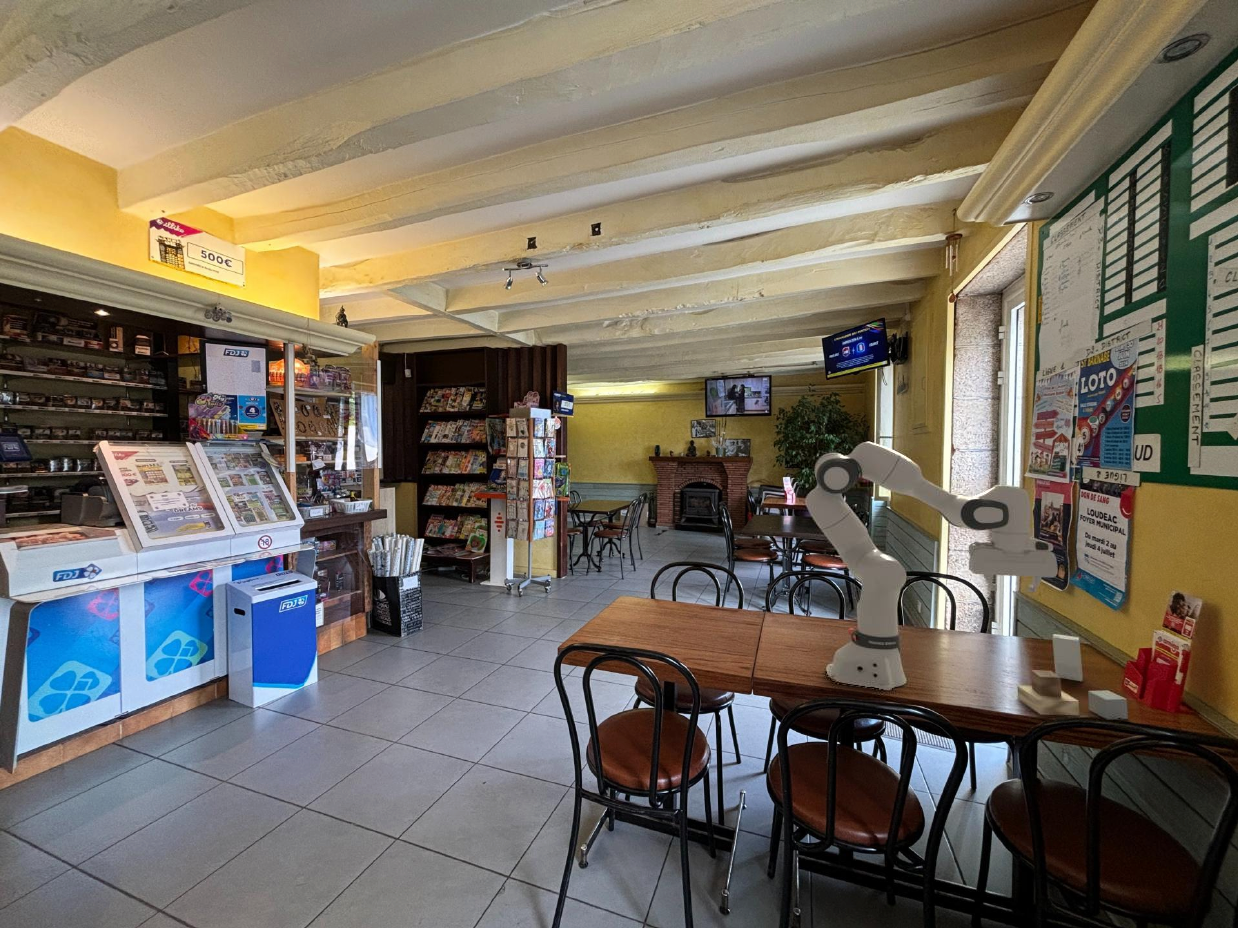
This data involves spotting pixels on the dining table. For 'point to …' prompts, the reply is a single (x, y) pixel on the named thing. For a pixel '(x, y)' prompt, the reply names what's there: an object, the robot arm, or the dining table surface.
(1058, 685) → the walnut block
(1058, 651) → the skincare box
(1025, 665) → the dining table surface
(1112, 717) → the slate cube
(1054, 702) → the maple pedestal
